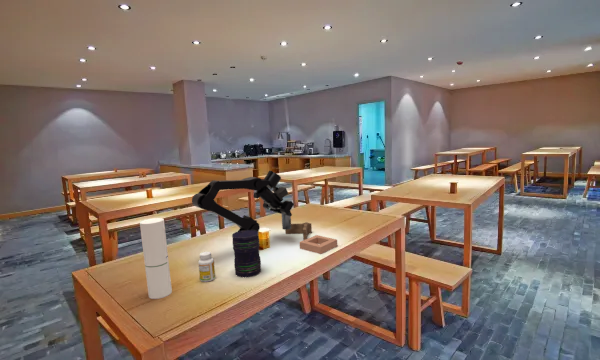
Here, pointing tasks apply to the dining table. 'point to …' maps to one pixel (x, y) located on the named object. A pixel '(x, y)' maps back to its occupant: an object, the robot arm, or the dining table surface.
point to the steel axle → (286, 222)
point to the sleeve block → (318, 244)
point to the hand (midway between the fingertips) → (288, 214)
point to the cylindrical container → (156, 257)
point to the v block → (300, 229)
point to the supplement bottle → (206, 267)
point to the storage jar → (246, 253)
